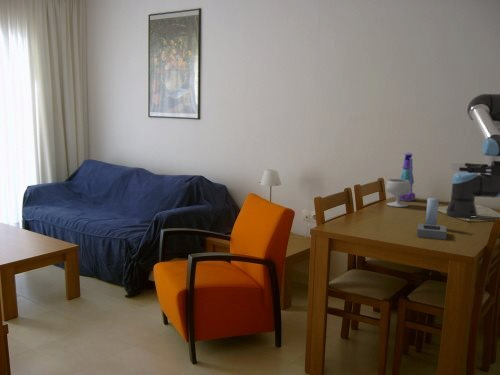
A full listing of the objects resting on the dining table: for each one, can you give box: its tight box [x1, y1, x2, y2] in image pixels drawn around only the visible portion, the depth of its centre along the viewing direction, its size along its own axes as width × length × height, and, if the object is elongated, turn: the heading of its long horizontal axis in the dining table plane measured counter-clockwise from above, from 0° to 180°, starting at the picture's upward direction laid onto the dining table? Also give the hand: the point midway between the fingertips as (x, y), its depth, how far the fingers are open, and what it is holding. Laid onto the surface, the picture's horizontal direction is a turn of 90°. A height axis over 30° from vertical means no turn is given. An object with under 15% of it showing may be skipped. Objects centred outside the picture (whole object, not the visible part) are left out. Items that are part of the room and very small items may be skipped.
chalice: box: [385, 178, 411, 208], centre depth 280 cm, size 14×14×15 cm
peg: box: [425, 197, 439, 225], centre depth 228 cm, size 5×5×14 cm
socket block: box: [416, 222, 448, 241], centre depth 215 cm, size 12×12×4 cm
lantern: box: [399, 152, 416, 202], centre depth 297 cm, size 13×12×30 cm
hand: (450, 166), depth 223 cm, fingers open, 13 cm apart
